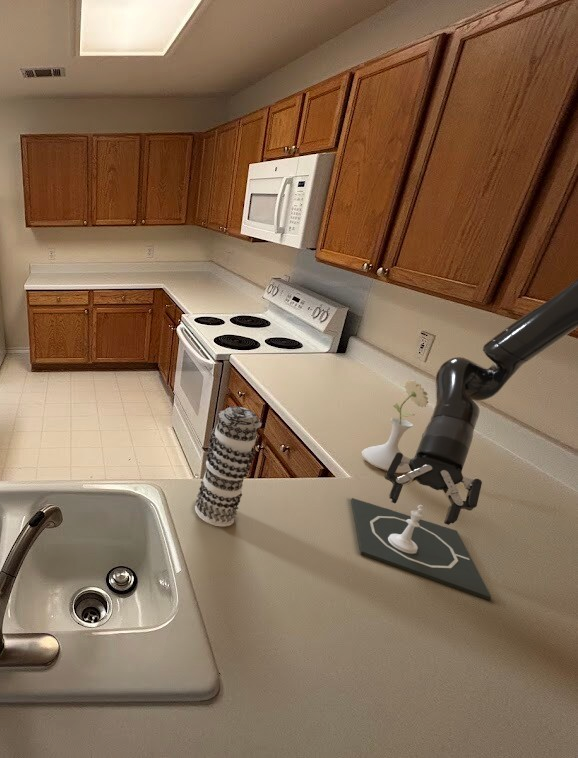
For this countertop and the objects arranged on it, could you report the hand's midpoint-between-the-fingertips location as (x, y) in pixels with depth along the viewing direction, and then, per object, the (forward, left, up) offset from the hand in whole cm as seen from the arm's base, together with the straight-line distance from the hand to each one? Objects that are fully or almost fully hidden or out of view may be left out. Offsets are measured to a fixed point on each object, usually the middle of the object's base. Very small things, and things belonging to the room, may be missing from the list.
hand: (419, 512), depth 82 cm
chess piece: (0, 0, -8) cm, 9 cm away
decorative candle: (+36, +12, -9) cm, 39 cm away
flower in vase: (-2, -38, -9) cm, 40 cm away
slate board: (-2, -2, -9) cm, 10 cm away
